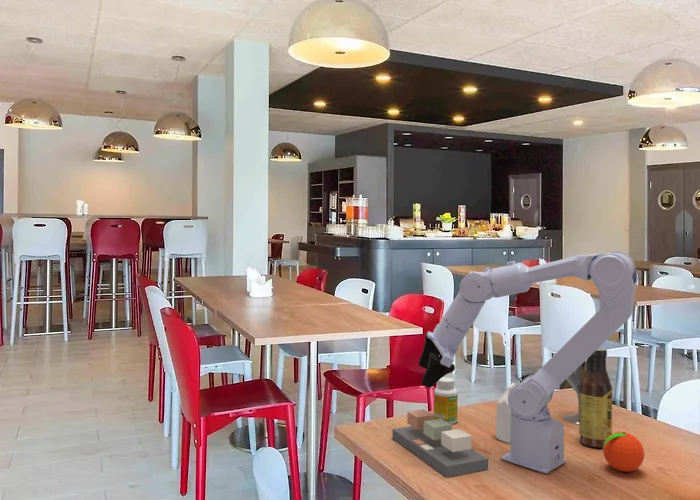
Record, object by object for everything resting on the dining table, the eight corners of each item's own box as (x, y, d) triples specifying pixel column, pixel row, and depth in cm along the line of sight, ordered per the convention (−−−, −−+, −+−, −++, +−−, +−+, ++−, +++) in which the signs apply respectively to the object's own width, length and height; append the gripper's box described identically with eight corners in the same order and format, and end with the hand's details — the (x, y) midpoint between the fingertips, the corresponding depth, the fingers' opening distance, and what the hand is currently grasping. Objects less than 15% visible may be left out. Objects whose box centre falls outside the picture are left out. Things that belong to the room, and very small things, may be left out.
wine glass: (554, 416, 140) (555, 353, 139) (579, 412, 143) (580, 351, 143) (580, 426, 133) (582, 360, 132) (606, 422, 136) (607, 357, 135)
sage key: (451, 437, 115) (451, 424, 115) (434, 440, 114) (434, 427, 114) (440, 430, 119) (440, 418, 119) (423, 433, 118) (423, 421, 117)
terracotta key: (433, 426, 121) (433, 414, 121) (416, 429, 120) (417, 417, 120) (423, 421, 125) (424, 409, 125) (407, 423, 123) (407, 411, 123)
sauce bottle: (614, 450, 119) (617, 352, 118) (581, 448, 120) (584, 351, 119) (607, 439, 125) (609, 346, 124) (576, 436, 126) (578, 344, 125)
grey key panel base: (488, 469, 109) (488, 457, 109) (446, 477, 105) (447, 465, 105) (429, 432, 128) (429, 422, 128) (392, 438, 124) (392, 428, 124)
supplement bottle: (450, 426, 132) (450, 383, 132) (429, 421, 136) (429, 379, 135) (461, 420, 137) (461, 378, 136) (440, 415, 140) (441, 375, 139)
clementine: (615, 480, 104) (617, 441, 104) (589, 465, 111) (590, 428, 111) (652, 475, 107) (653, 437, 106) (624, 461, 113) (625, 424, 113)
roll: (498, 377, 129) (524, 379, 127) (497, 431, 129) (523, 434, 127) (495, 384, 123) (523, 387, 121) (494, 441, 123) (522, 444, 122)
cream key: (471, 449, 110) (471, 435, 109) (452, 452, 108) (453, 438, 108) (459, 441, 113) (459, 428, 113) (441, 444, 112) (441, 431, 111)
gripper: (435, 301, 127) (405, 351, 131) (442, 331, 113) (409, 386, 117) (463, 314, 128) (433, 364, 132) (474, 346, 114) (440, 400, 118)
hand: (424, 375), depth 124 cm, fingers open, 7 cm apart
